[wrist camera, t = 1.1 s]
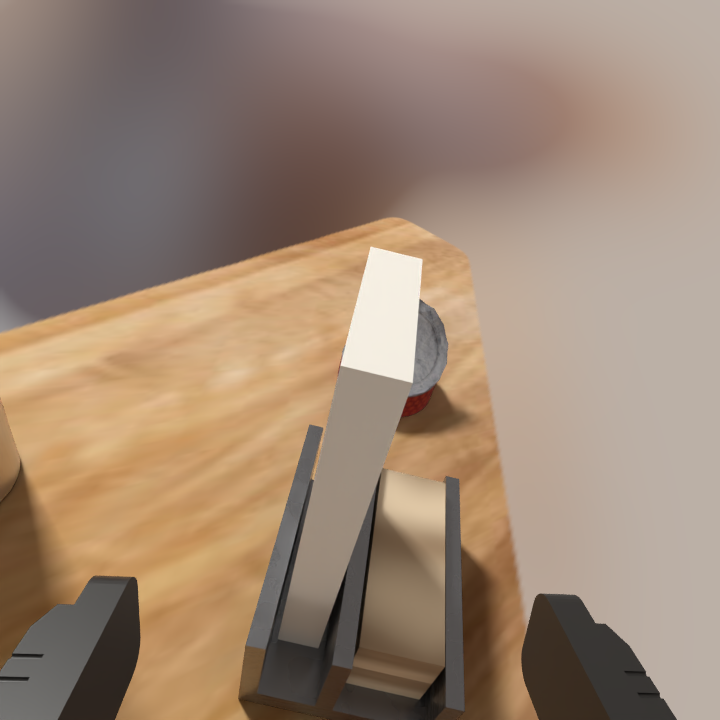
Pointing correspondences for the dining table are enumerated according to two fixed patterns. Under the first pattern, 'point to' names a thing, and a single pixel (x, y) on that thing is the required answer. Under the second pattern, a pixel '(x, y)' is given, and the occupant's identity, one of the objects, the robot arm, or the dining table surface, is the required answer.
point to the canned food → (425, 358)
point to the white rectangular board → (355, 438)
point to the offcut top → (404, 580)
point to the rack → (344, 627)
